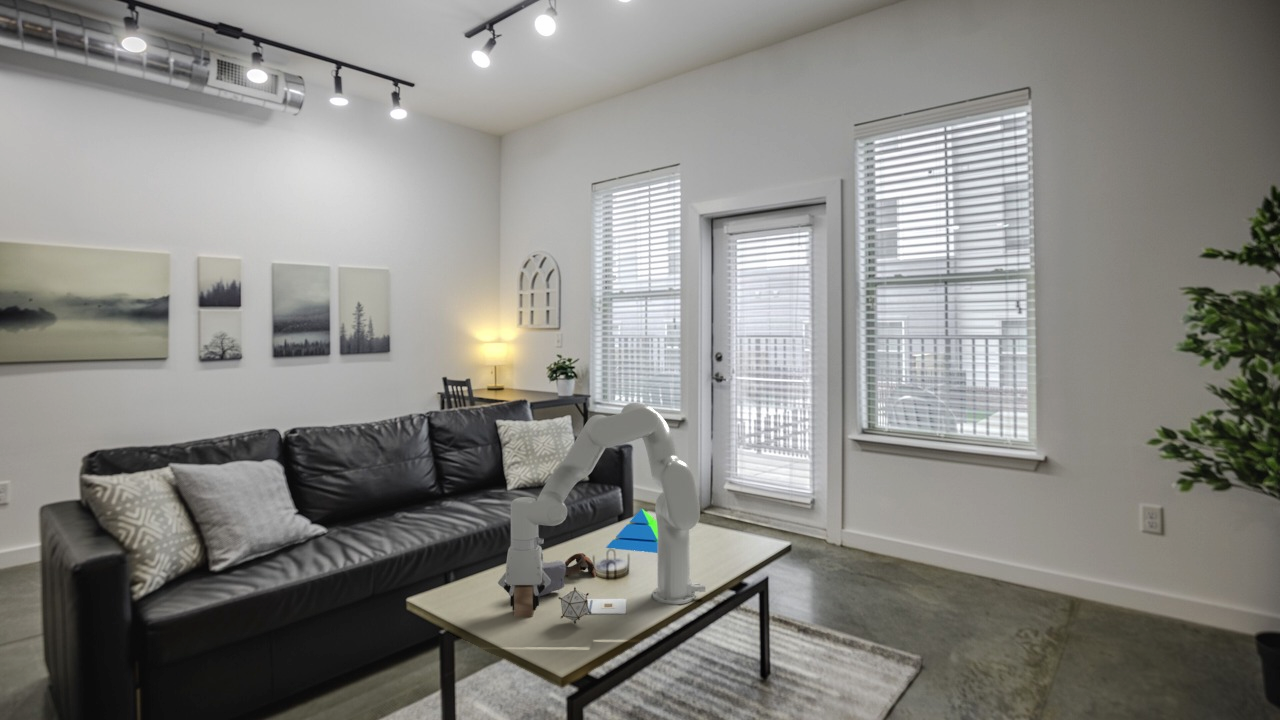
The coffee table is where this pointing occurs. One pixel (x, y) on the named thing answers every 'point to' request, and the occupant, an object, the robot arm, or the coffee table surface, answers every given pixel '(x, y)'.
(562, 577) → the stone block
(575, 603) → the game die
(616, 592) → the coffee table surface
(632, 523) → the pyramid toy
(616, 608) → the white picture card
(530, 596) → the walnut block
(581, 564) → the brown arched sculpture
